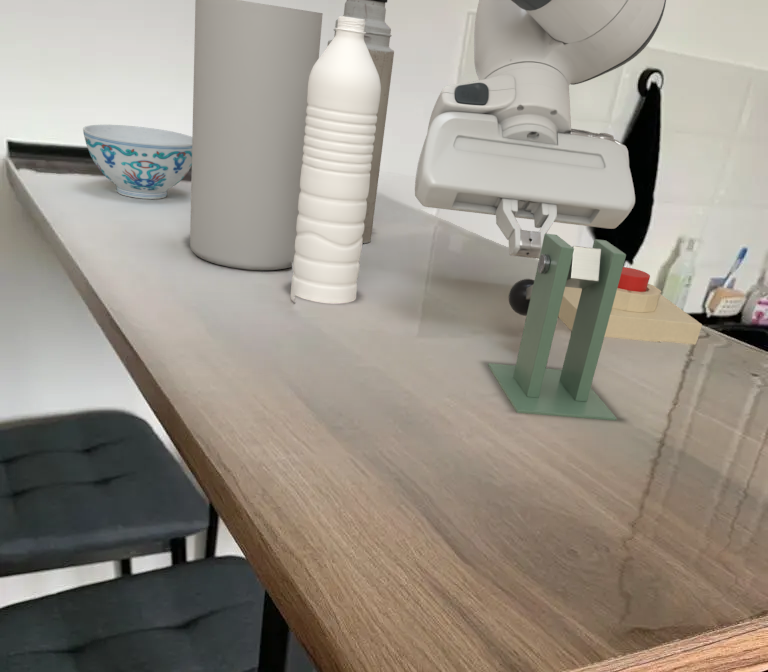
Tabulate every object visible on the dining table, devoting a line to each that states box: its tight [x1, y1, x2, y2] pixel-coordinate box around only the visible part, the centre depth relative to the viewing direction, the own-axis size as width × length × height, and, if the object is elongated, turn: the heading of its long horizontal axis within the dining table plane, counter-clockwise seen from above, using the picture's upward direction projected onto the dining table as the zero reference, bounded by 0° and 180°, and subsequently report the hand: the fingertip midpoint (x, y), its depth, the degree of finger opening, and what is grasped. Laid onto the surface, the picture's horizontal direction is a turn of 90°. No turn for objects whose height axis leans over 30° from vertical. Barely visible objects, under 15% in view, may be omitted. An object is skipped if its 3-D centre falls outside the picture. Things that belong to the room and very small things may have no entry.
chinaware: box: [82, 124, 192, 200], centre depth 118 cm, size 15×15×8 cm
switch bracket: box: [487, 233, 627, 421], centre depth 67 cm, size 10×8×13 cm
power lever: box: [508, 245, 601, 317], centre depth 71 cm, size 15×3×3 cm, turn 7°
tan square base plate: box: [558, 283, 703, 346], centre depth 90 cm, size 13×11×5 cm
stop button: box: [618, 266, 651, 292], centre depth 89 cm, size 4×4×2 cm
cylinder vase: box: [189, 0, 324, 271], centre depth 92 cm, size 12×12×25 cm
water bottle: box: [290, 15, 381, 305], centre depth 81 cm, size 9×6×25 cm
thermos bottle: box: [327, 0, 395, 245], centre depth 107 cm, size 8×8×28 cm
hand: (527, 254), depth 77 cm, fingers closed
